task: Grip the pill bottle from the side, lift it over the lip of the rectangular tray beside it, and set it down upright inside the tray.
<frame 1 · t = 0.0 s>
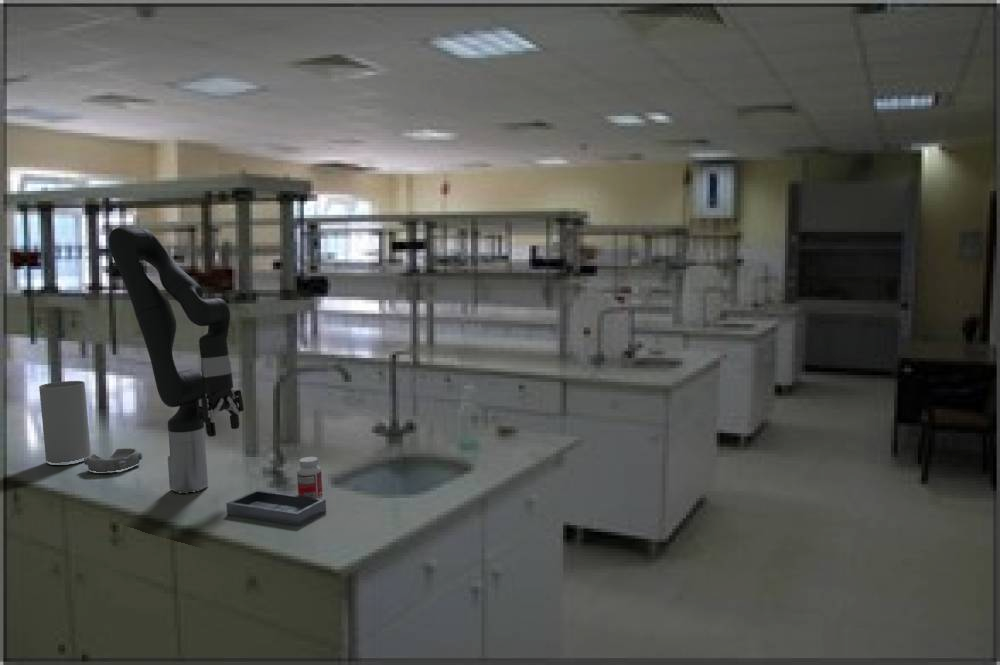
hand: (223, 432, 201), 17 cm above the countertop, tool pointing down, fingers open, 8 cm apart
cylinder vase: (69, 461, 239), on the countertop
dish: (115, 469, 229), on the countertop
pill bottle: (310, 500, 197), on the countertop
rectangular tray: (276, 512, 187), on the countertop
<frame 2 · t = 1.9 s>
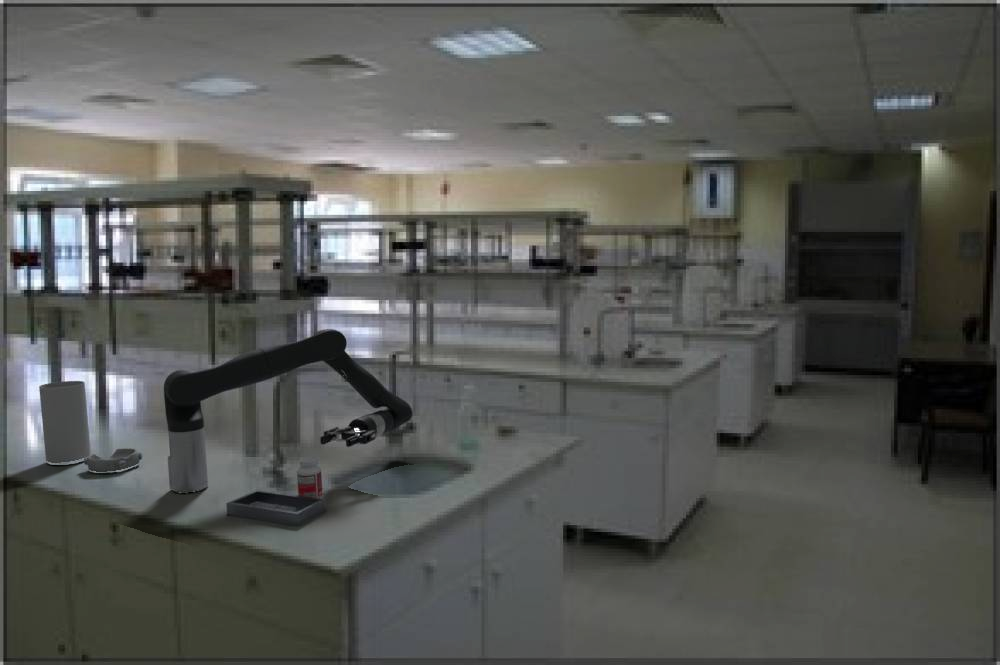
hand: (334, 442, 205), 13 cm above the countertop, tool horizontal, fingers open, 8 cm apart
nothing on the countertop moved.
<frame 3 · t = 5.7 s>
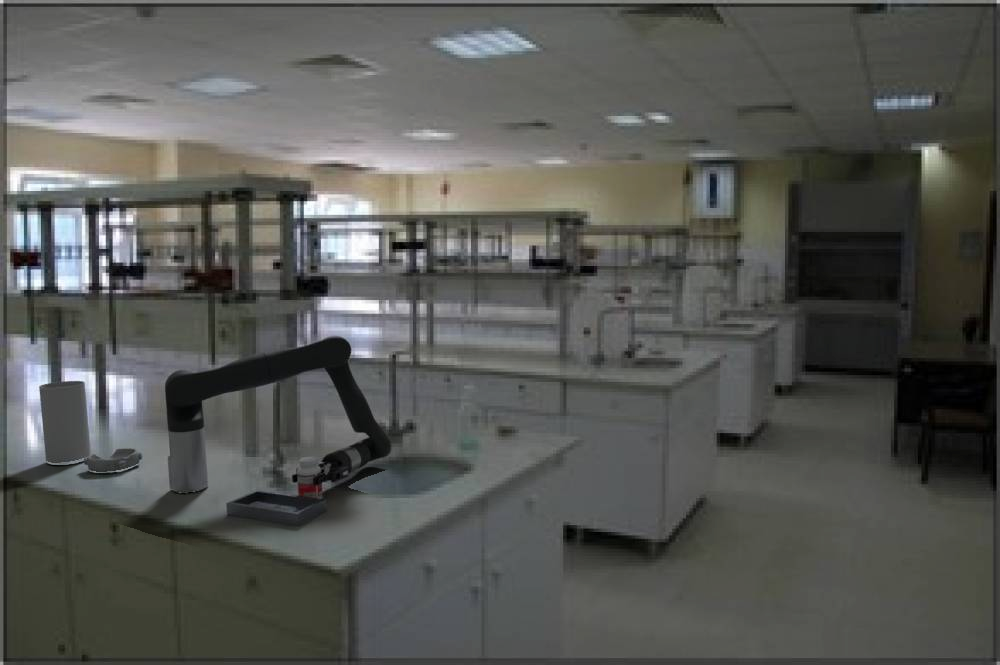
hand: (303, 480, 194), 6 cm above the countertop, tool horizontal, fingers closed on pill bottle, 6 cm apart
pill bottle: (310, 500, 197), on the countertop, touching gripper
everything else where it was.
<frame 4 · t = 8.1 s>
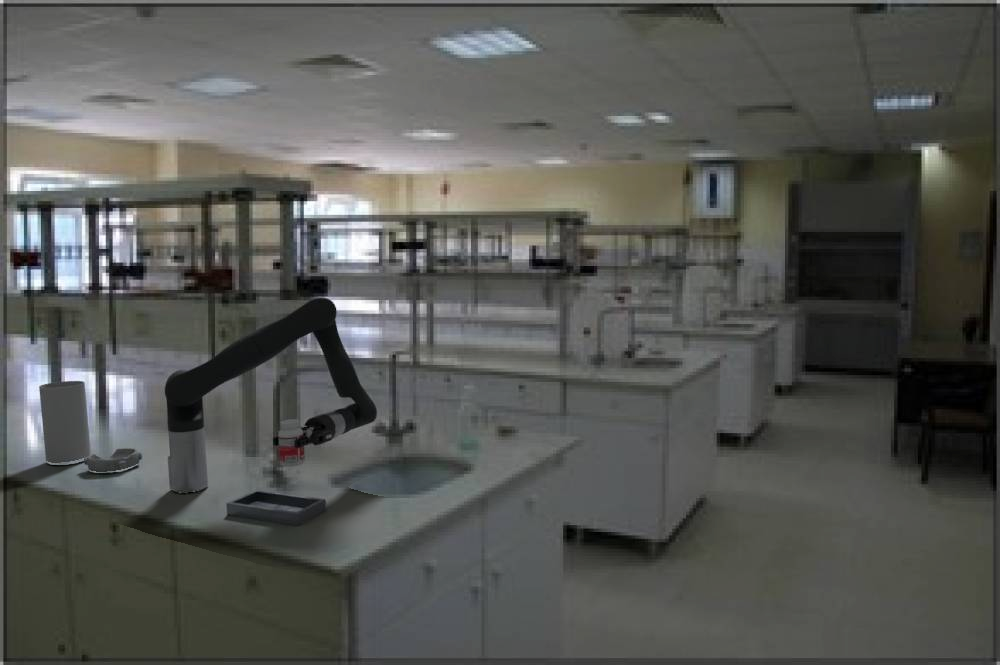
hand: (285, 443, 187), 18 cm above the countertop, tool horizontal, fingers closed on pill bottle, 6 cm apart
pill bottle: (292, 464, 190), point 11 cm above the countertop, touching gripper
everything else where it was.
when the fingers open (9 cm above the countertop, at t = 10.7 s): pill bottle drops 2 cm, resting on rectangular tray.
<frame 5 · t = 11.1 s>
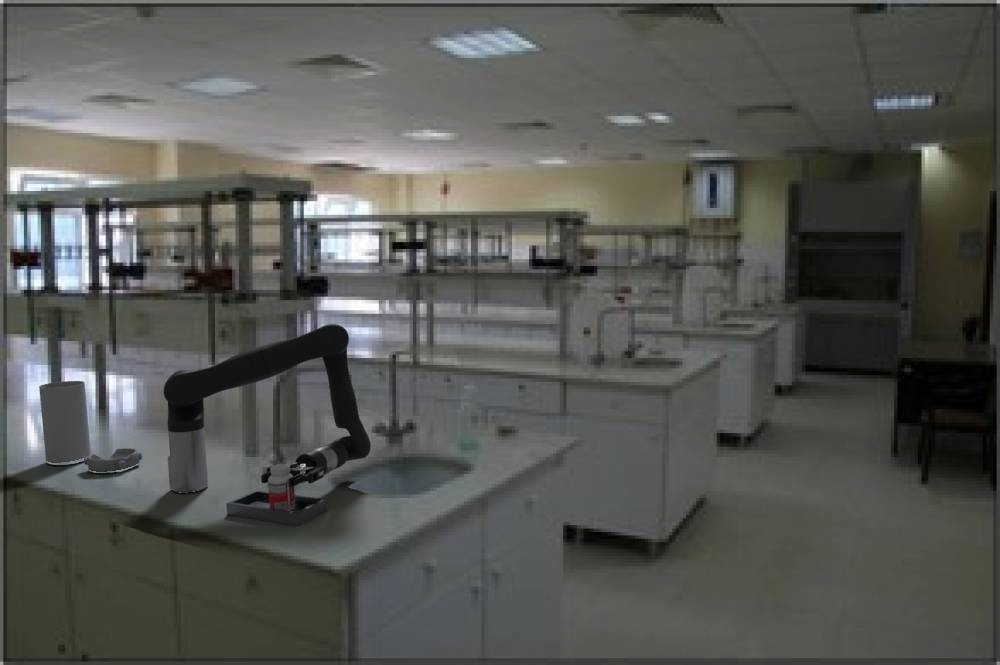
hand: (276, 481, 184), 9 cm above the countertop, tool horizontal, fingers open, 8 cm apart
pill bottle: (282, 510, 187), point 1 cm above the countertop, touching rectangular tray
everything else where it was.
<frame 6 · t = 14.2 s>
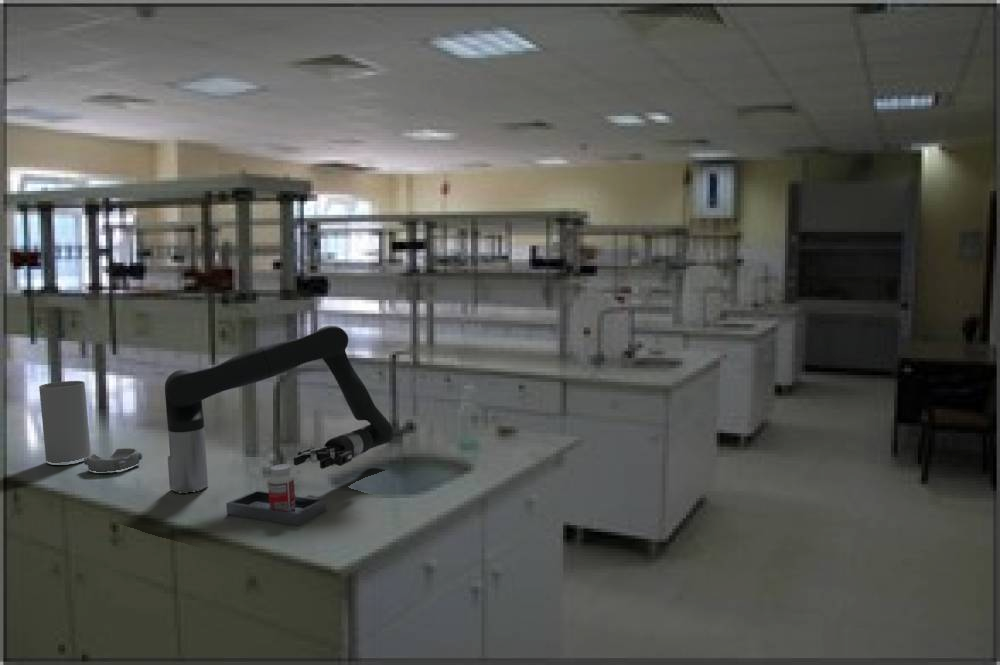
hand: (307, 463, 196), 10 cm above the countertop, tool horizontal, fingers open, 8 cm apart
nothing on the countertop moved.
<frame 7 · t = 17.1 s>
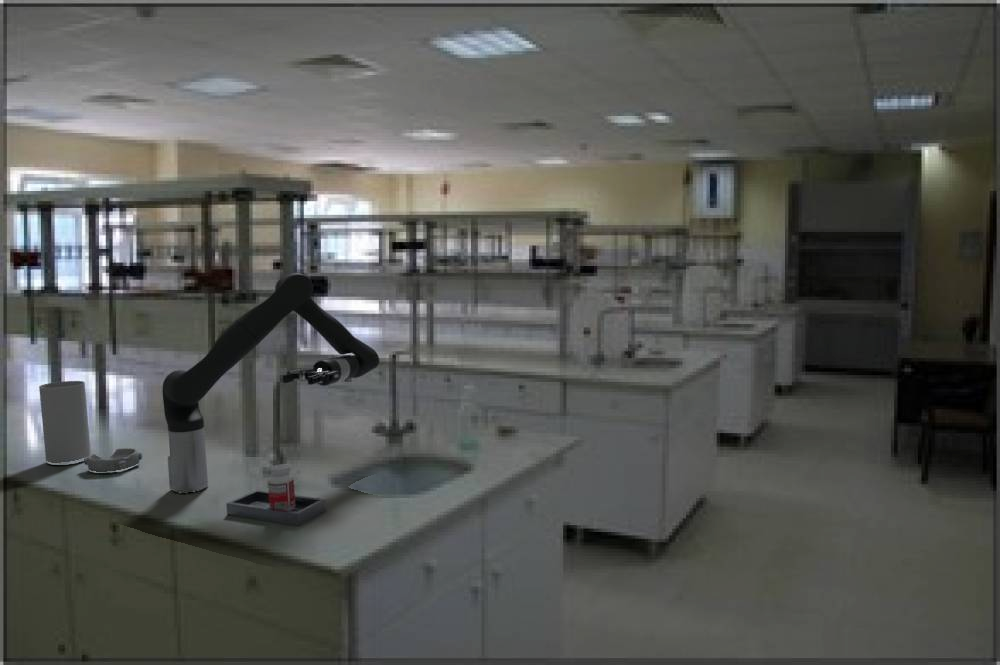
hand: (296, 380, 205), 30 cm above the countertop, tool horizontal, fingers open, 8 cm apart
nothing on the countertop moved.
at the end: pill bottle inside the target area on the rectangular tray (1.8 cm from its centre), point 0.8 cm above the rectangular tray's base; pill bottle tilted 0°; the gripper is holding nothing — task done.
